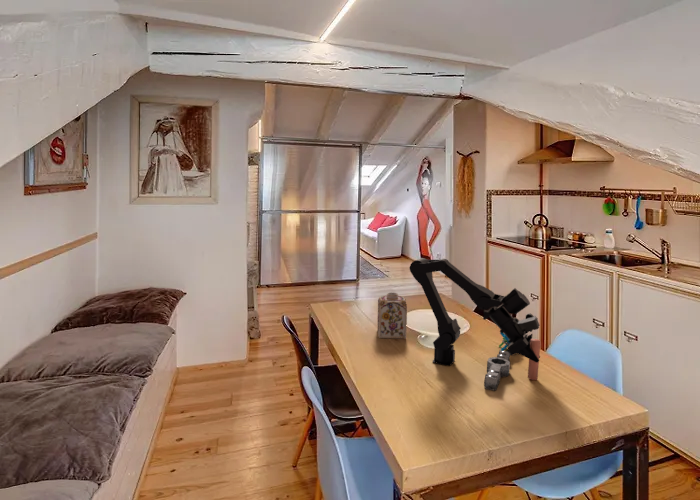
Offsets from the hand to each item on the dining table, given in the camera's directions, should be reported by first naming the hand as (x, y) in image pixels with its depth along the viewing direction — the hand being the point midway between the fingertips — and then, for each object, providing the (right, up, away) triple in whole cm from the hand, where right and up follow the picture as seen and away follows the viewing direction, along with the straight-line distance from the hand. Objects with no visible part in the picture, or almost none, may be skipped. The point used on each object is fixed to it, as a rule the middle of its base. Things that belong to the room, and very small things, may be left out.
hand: (538, 359), depth 139 cm
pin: (-1, -6, +2) cm, 7 cm away
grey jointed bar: (-11, -6, +7) cm, 14 cm away
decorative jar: (-44, -1, +45) cm, 63 cm away
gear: (0, -4, +27) cm, 27 cm away
